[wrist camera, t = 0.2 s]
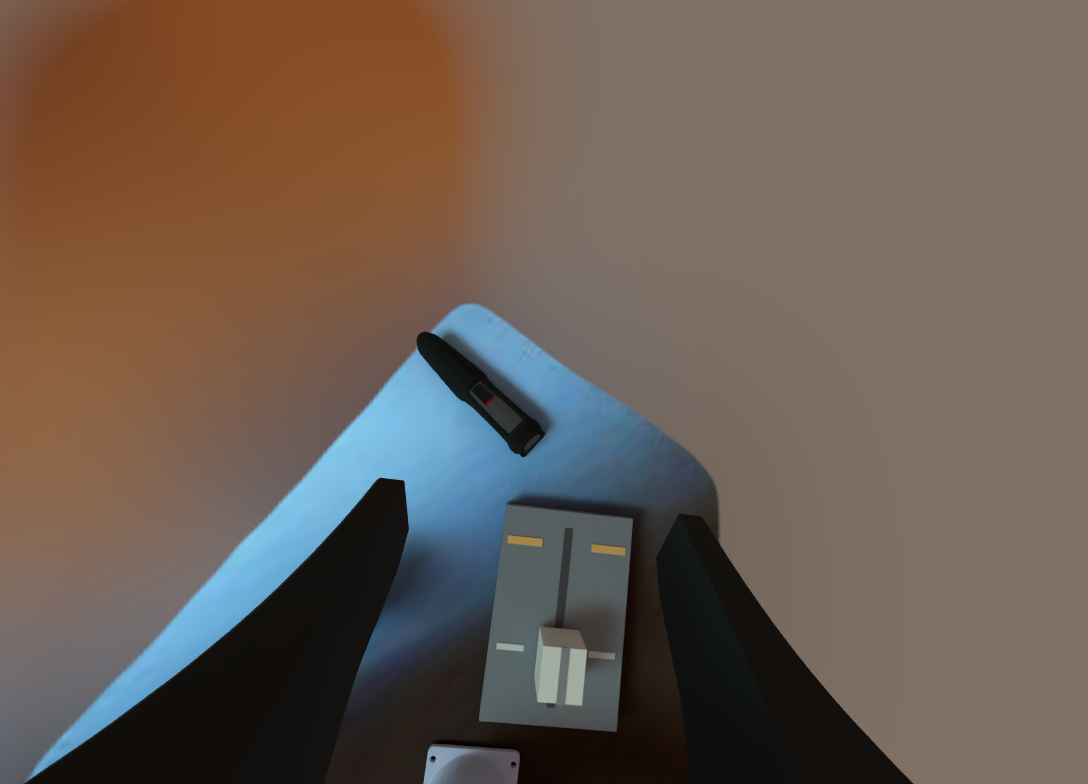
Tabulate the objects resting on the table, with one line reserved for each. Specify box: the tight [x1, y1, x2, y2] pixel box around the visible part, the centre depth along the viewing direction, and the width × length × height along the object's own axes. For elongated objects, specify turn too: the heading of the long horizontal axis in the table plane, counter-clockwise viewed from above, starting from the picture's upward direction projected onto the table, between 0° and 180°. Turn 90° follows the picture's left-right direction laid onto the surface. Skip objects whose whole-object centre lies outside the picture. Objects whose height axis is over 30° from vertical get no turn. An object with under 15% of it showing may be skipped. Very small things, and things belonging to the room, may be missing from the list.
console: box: [479, 503, 633, 732], centre depth 39 cm, size 18×12×2 cm, turn 173°
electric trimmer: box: [417, 332, 545, 457], centre depth 41 cm, size 4×16×3 cm, turn 46°
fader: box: [534, 627, 587, 706], centre depth 35 cm, size 4×4×4 cm
